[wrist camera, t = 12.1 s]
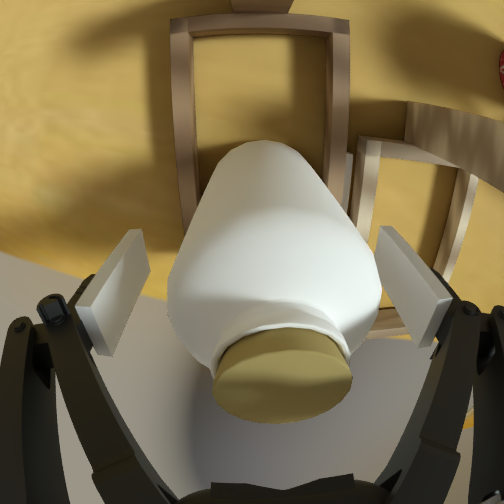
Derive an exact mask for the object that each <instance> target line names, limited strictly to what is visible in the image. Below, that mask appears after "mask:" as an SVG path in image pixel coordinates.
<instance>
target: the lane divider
mask: <svg viewBox="0 0 504 504" xmlns="http://www.w3.org/2000/svg"><path fill="white" fill-rule="evenodd" d="M352 163H353V154H352V153H350V152H346V165H345V176H344V187H343V196H342V205H341V207H342V209H343V210H344V211H345V213H346V214H347V210H348V201H349V193H350V184H351V174H352Z"/></svg>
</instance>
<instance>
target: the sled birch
mask: <svg viewBox="0 0 504 504" xmlns="http://www.w3.org/2000/svg"><path fill="white" fill-rule="evenodd" d="M380 157H387V158H396V159H404V160H412V161H419V162H426V163H433V164H439V165H445V166H451V167H457V168H458V172H457V178H456V183H455V188H454V193H453V197H452V202H451V206H450V211H449V215H448V219H447V223H446V226H445V230H444V234H443V237H442V241H441V244H440V248H439V251H438V254H437V258H436V261H435V264H434V267H433V269H434V270H436V271H437V272H438V273H440V274H441V276H442V277H443V278H444V279H445V281H446V282H447V283H448V282H449V280H450V277H451V274H452V272H453V269H454V266H455V263H456V261H457V258H458V255H459V252H460V249H461V245H462V242H463V239H464V236H465V232H466V229H467V225H468V222H469V218H470V214H471V210H472V206H473V202H474V198H475V194H476V189H477V184H478V179H479V178H480V179H482V180H483V181H485V182H487V183H489V184H490V185H492V186H494V187H495V188H497V189H499V190H500V191H502V192H504V122H501V121H497V120H494V119H491V118H487V117H483V116H480V115H476V114H472V113H468V112H463V111H459V110H454V109H450V108H445V107H440V106H434V105H429V104H423V103H417V102H410V101H407V113H406V126H405V137H404V141H400V140H393V139H386V138H377V137H369V136H359V135H358V139H357V152H356V163H355V173H354V183H353V192H352V200H351V208H350V216H349V219H350V220H351V221H352V223H353V224H354V226H355V227H356V229H357V230H358V232H359V233H360V235H361V236H362V238H363V239H364V241H365V242H366V244H367V242H368V236H369V231H370V225H371V220H372V213H373V207H374V201H375V194H376V187H377V179H378V171H379V163H380ZM406 334H409V332H408V330H407V328H406V326H405V324H404V323H403V321H402V319H401V317H400V315H399V314H398V312H397V310H396V309H385V310H379V311H378V315H377V317H376V319H375V322H374V324H373V325H372V327H371V329H370V331H369V332H368V334H367V336H366V338H365V339H373V338H382V337H390V336H398V335H406Z"/></svg>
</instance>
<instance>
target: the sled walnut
mask: <svg viewBox="0 0 504 504" xmlns="http://www.w3.org/2000/svg"><path fill="white" fill-rule="evenodd" d="M293 1H294V0H231V4H232V9H233V13H223V14H210V15H199V16H191V17H183V18H176V19H170V56H171V88H172V108H173V125H174V139H175V151H176V163H177V174H178V184H179V193H180V203H181V211H182V220H183V228H184V235H186V233H187V230H188V228H189V226H190V223H191V221H192V219H193V216H194V214H195V212H196V209H197V207H198V205H199V203H200V200H201V193H200V180H199V166H198V151H197V134H196V115H195V92H194V56H193V37H197V36H208V35H222V34H248V33H267V34H293V35H307V36H318V37H326V107H325V135H324V154H323V171H322V181H323V183H324V184H325V185H326V187H327V188H328V189H329V191H330V192H331V194H332V195H333V196H334V198H335V199H336V200H337V202H338V203H339V204H340V206H341V205H342V196H343V187H344V176H345V165H346V152H347V138H348V120H349V95H350V29H349V20H344V19H338V18H331V17H323V16H315V15H304V14H291V13H288V11H289V9H290V7H291V5H292V3H293Z"/></svg>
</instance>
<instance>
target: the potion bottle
mask: <svg viewBox="0 0 504 504" xmlns="http://www.w3.org/2000/svg"><path fill="white" fill-rule="evenodd" d="M381 293H382V287H381V283H380V278H379V274H378V270H377V266H376V263H375V259H374V255H373V253H372V251H371V250H370V248H369V247H368V245H367V244H366V242H365V241H364V239H363V238H362V236H361V235H360V233H359V232H358V230H357V229H356V227H355V226H354V224H353V223H352V221H351V220H350V219H349V217H348V216H347V214H346V213H345V211H344V210H343V209H342V207H341V206H340V204H339V203H338V202H337V200H336V199H335V198H334V196H333V195H332V194H331V192H330V191H329V189H328V188H327V187H326V185H325V184H324V183H323V181H322V180H321V179H320V178H319V176H318V175H317V174H316V172H315V171H314V170H313V168H312V167H311V166H310V165H309V163H308V162H307V161H306V160H305V159H304V158H303V157H302V156H301V155H300V153H299V152H298V151H296V150H294V149H292V148H291V147H289V146H287V145H285V144H283V143H280V142H274V141H269V140H259V141H252V142H246V143H244V144H242V145H240V146H238V147H236V148H234V149H232V150H230V151H229V152H228V153H227V154H226V155H225V156H224V157H223V158H222V159H221V160H220V161H219V162H218V164H217V166H216V168H215V170H214V172H213V174H212V176H211V178H210V180H209V183H208V185H207V187H206V189H205V191H204V194H203V196H202V198H201V200H200V203H199V205H198V207H197V209H196V212H195V214H194V216H193V219H192V221H191V223H190V226H189V228H188V230H187V233H186V235H185V237H184V240H183V242H182V245H181V247H180V249H179V252H178V254H177V257H176V259H175V262H174V264H173V267H172V269H171V272H170V274H169V277H168V286H167V307H168V317H169V319H170V322H171V324H172V326H173V329H174V331H175V333H176V335H177V338H178V339H179V340H180V342H181V343H182V344H183V345H184V347H185V348H186V349H187V350H188V351H189V352H190V353H191V354H192V355H193V356H194V357H195V358H196V359H197V360H198V361H199V362H200V363H202V364H203V365H205V366H207V367H208V368H210V372H211V374H212V376H213V379H214V384H213V392H212V393H213V396H214V398H215V400H216V402H217V404H218V405H219V406H221V407H222V408H223V409H224V410H225V411H227V412H228V413H229V414H232V415H234V416H236V417H238V418H241V419H243V420H248V421H252V422H258V423H270V424H280V423H290V422H297V421H301V420H305V419H308V418H312V417H315V416H317V415H319V414H322V413H324V412H326V411H328V410H330V409H331V408H333V407H334V406H335V405H336V404H338V403H339V402H341V401H342V400H343V398H344V397H345V396H346V394H347V393H348V392H349V390H350V388H351V384H352V379H353V377H352V375H351V372H350V370H349V363H350V357H351V354H352V352H354V351H355V350H356V349H357V348H358V347H359V346H360V345H361V344H362V343H363V341H364V339H365V338H366V336H367V334H368V332H369V331H370V329H371V327H372V325H373V324H374V322H375V319H376V317H377V315H378V311H379V305H380V299H381Z"/></svg>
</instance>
